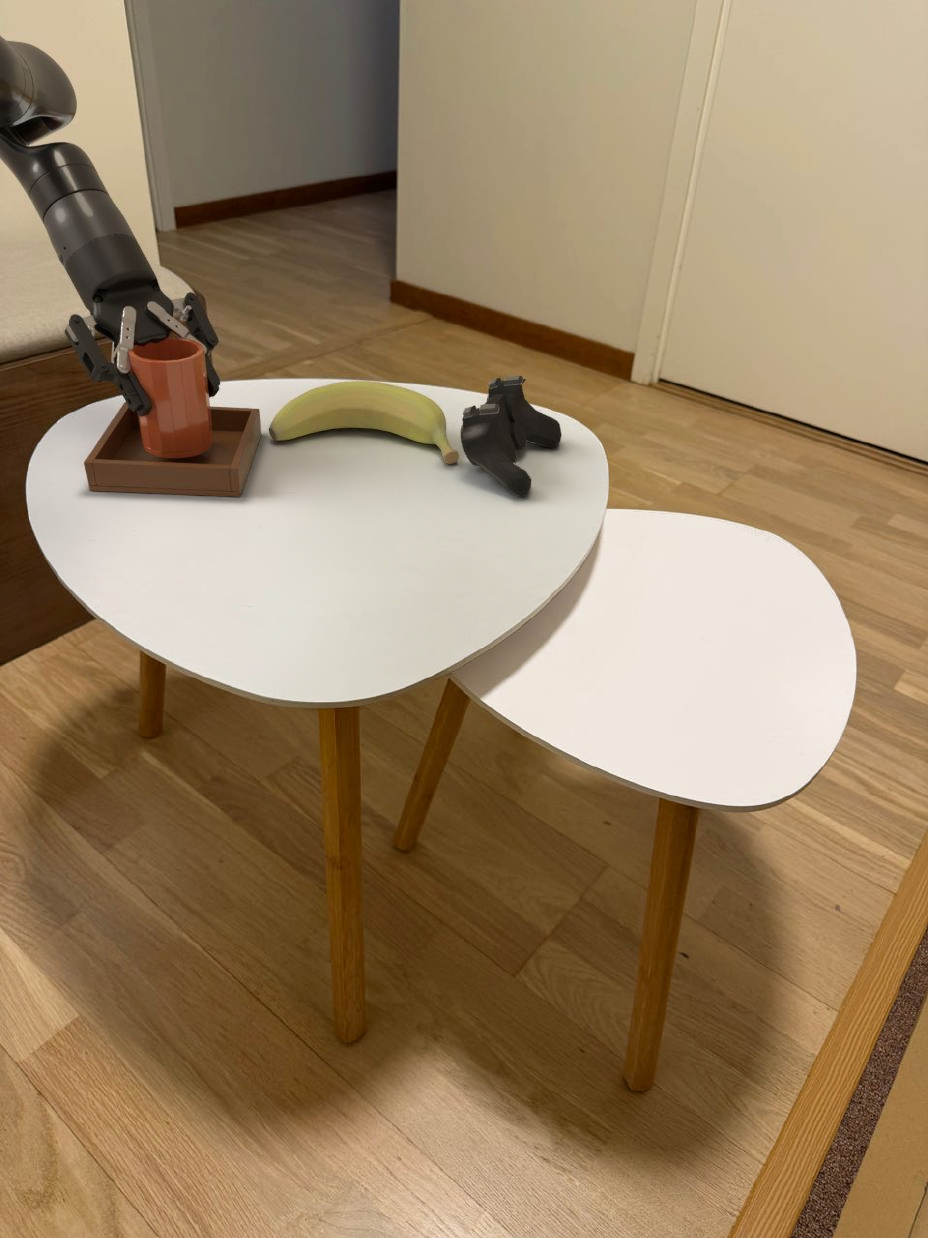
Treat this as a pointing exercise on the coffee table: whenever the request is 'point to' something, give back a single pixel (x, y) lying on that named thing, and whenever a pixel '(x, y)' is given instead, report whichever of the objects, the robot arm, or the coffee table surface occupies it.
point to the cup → (174, 397)
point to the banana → (365, 413)
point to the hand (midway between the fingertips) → (181, 402)
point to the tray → (210, 473)
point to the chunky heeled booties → (506, 433)
